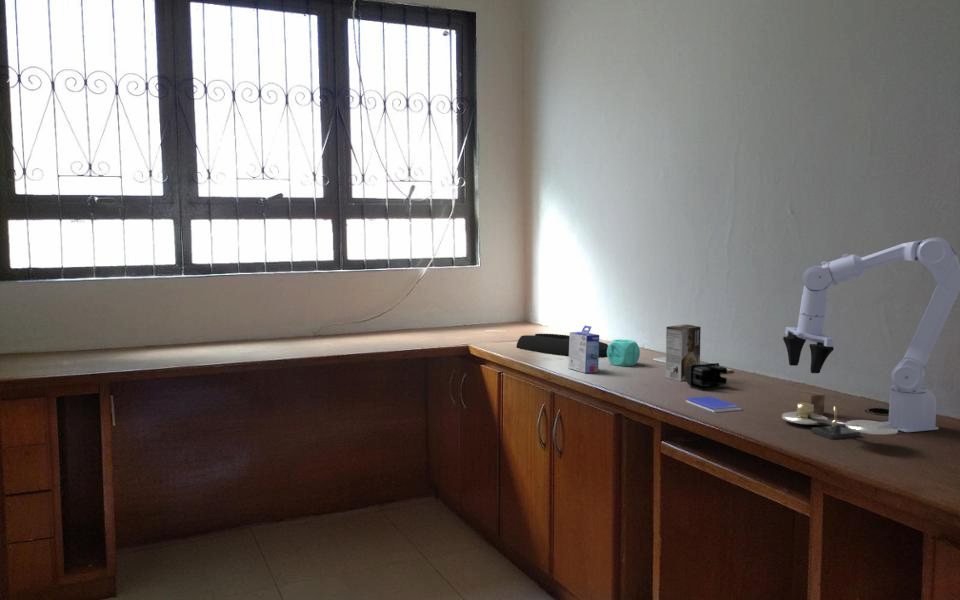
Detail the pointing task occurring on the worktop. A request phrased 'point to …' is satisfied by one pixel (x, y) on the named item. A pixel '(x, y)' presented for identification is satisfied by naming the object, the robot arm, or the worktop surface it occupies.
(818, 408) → the walnut block
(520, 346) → the docking station
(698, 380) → the black electrical connector
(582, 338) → the ink cartridge box
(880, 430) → the balance
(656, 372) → the worktop surface
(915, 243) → the robot arm
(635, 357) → the decorative dice
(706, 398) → the hard drive
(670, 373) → the coffee box
